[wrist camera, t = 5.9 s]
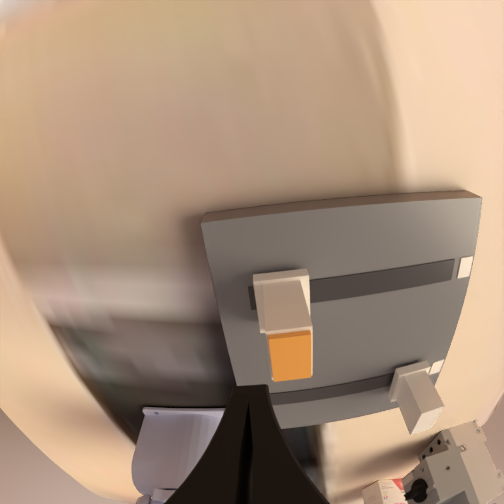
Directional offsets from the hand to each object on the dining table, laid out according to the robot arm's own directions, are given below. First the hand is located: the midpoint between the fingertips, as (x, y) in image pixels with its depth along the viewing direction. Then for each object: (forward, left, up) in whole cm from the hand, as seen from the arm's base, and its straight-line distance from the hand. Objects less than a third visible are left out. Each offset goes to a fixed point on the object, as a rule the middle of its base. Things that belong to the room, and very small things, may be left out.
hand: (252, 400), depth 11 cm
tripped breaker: (+2, 0, -7) cm, 7 cm away
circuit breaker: (+24, -33, -10) cm, 42 cm away
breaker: (+12, -10, -7) cm, 17 cm away
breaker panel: (+7, -5, -9) cm, 13 cm away
